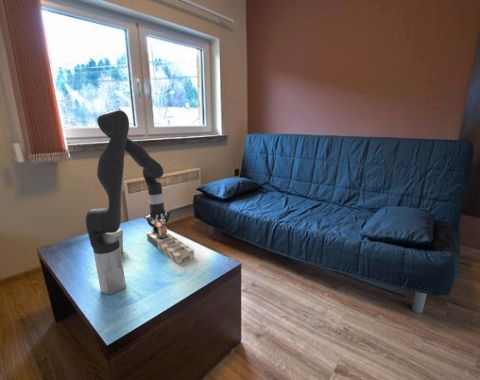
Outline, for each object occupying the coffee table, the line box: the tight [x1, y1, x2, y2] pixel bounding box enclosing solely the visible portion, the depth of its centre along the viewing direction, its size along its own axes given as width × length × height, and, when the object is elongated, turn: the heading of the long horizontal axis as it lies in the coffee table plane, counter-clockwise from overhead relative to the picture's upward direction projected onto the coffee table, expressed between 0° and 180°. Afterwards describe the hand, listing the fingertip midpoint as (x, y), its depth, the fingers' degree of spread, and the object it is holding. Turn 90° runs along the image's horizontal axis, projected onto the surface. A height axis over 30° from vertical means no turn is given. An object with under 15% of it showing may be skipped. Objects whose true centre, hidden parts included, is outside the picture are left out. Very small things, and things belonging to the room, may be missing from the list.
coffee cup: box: [106, 227, 124, 253], centre depth 132 cm, size 8×8×12 cm
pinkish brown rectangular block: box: [151, 220, 168, 240], centre depth 143 cm, size 12×4×8 cm, turn 41°
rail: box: [146, 230, 195, 265], centre depth 136 cm, size 36×9×4 cm, turn 41°
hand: (159, 231), depth 143 cm, fingers closed on pinkish brown rectangular block, 3 cm apart
